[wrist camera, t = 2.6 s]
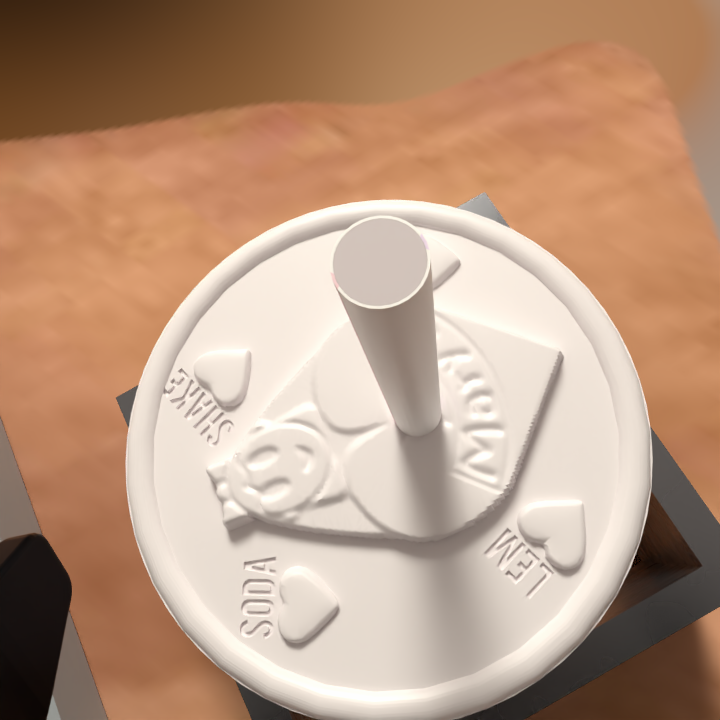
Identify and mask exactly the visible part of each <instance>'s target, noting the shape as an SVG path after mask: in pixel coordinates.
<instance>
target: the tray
mask: <svg viewBox="0 0 720 720" xmlns="http://www.w3.org/2000/svg"><path fill="white" fill-rule="evenodd" d="M29 533H39V534H41V535H42V533H41V530H40V528H39V525H38V522H37V519H36V516H35V513H34V511H33V508H32V505H31V502H30V499H29V497H28V494H27V491H26V488H25V485H24V482H23V480H22V477H21V474H20V471H19V468H18V466H17V463H16V460H15V457H14V454H13V452H12V449H11V446H10V443H9V440H8V437H7V435H6V432H5V429H4V426H3V423H2V421H1V418H0V542H1V541H3V540H4V539H7V538H10V537H14V536H19V535H24V534H29ZM47 720H108V719H107V716H106V713H105V710H104V708H103V705H102V702H101V699H100V696H99V694H98V691H97V688H96V685H95V682H94V679H93V677H92V674H91V671H90V668H89V665H88V663H87V660H86V657H85V654H84V651H83V649H82V646H81V643H80V640H79V637H78V634H77V632H76V629H75V626H74V623H73V620H72V618H71V615H70V612H68V617H67V622H66V628H65V633H64V638H63V643H62V648H61V653H60V659H59V664H58V669H57V674H56V679H55V684H54V690H53V694H52V699H51V703H50V708H49V712H48V716H47Z"/></svg>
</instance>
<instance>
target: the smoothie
mask: <svg viewBox="0 0 720 720" xmlns="http://www.w3.org/2000/svg"><path fill="white" fill-rule="evenodd" d="M652 463H653V456H652V440H651V429H650V423H649V417H648V411H647V405H646V401H645V397H644V394H643V390H642V386H641V383H640V379H639V377H638V374H637V371H636V369H635V366H634V364H633V361H632V358H631V356H630V354H629V352H628V350H627V348H626V346H625V344H624V342H623V340H622V338H621V336H620V334H619V332H618V330H617V329H616V327H615V325H614V324H613V322H612V321H611V319H610V318H609V316H608V314H607V313H606V311H605V310H604V308H603V307H602V306H601V305H600V303H599V302H598V301H597V299H596V298H595V297H594V296H593V294H592V293H591V292H590V290H589V289H588V288H587V287H586V286H585V285H584V284H583V283H582V282H581V281H580V280H579V279H578V278H577V277H576V276H575V275H574V274H573V273H572V272H571V271H570V270H569V269H568V268H567V267H566V266H565V265H563V264H562V263H561V262H560V261H559V260H558V259H556V258H555V257H554V256H553V255H552V254H550V253H549V252H547V251H546V250H545V249H543V248H542V247H540V246H539V245H538V244H536V243H535V242H533V241H532V240H530V239H528V238H527V237H525V236H523V235H521V234H520V233H518V232H516V231H515V230H513V229H511V228H509V227H506V226H504V225H502V224H500V223H498V222H496V221H494V220H491V219H489V218H486V217H483V216H480V215H478V214H475V213H472V212H469V211H465V210H462V209H458V208H454V207H450V206H446V205H440V204H434V203H428V202H421V201H408V200H373V201H364V202H354V203H349V204H343V205H338V206H333V207H329V208H325V209H322V210H318V211H315V212H311V213H308V214H305V215H303V216H300V217H297V218H295V219H292V220H289V221H287V222H285V223H283V224H281V225H279V226H277V227H274V228H272V229H270V230H268V231H266V232H265V233H263V234H261V235H260V236H258V237H256V238H254V239H253V240H251V241H249V242H248V243H246V244H245V245H243V246H242V247H241V248H239V249H238V250H236V251H235V252H234V253H232V254H231V255H229V256H228V257H227V258H226V259H225V260H223V261H222V262H221V263H220V264H219V265H218V266H216V267H215V268H214V269H213V270H212V271H211V272H210V273H209V274H208V275H207V276H206V277H205V278H204V279H203V280H202V281H201V282H200V283H199V284H198V285H197V286H196V287H195V288H194V289H193V290H192V292H191V293H190V294H189V295H188V296H187V298H186V299H185V300H184V301H183V302H182V304H181V305H180V306H179V308H178V309H177V310H176V312H175V313H174V315H173V316H172V318H171V319H170V321H169V322H168V324H167V325H166V327H165V328H164V330H163V332H162V334H161V336H160V337H159V339H158V341H157V343H156V344H155V346H154V349H153V351H152V353H151V355H150V357H149V360H148V362H147V364H146V366H145V369H144V371H143V374H142V377H141V380H140V383H139V386H138V389H137V392H136V396H135V400H134V404H133V408H132V412H131V417H130V424H129V430H128V436H127V450H126V487H127V495H128V503H129V511H130V516H131V521H132V525H133V530H134V534H135V538H136V541H137V544H138V547H139V550H140V553H141V556H142V559H143V562H144V564H145V567H146V569H147V571H148V573H149V576H150V578H151V580H152V582H153V585H154V587H155V588H156V590H157V592H158V594H159V595H160V597H161V599H162V601H163V602H164V604H165V606H166V608H167V609H168V611H169V612H170V613H171V615H172V616H173V618H174V619H175V620H176V622H177V623H178V625H179V626H180V627H181V629H182V630H183V631H184V632H185V634H186V635H187V636H188V637H189V638H190V639H191V640H192V642H193V643H194V644H195V645H196V646H197V647H198V648H199V650H200V651H202V652H203V653H204V654H205V655H206V656H207V657H208V658H209V659H210V660H211V661H212V662H213V663H215V664H216V665H217V666H218V667H219V668H220V669H221V670H223V671H224V672H225V673H227V674H228V675H229V676H231V677H232V678H233V679H235V680H236V681H237V682H239V683H240V684H241V685H243V686H245V687H246V688H248V689H250V690H251V691H253V692H255V693H256V694H258V695H260V696H261V697H263V698H265V699H267V700H269V701H271V702H273V703H276V704H278V705H280V706H282V707H284V708H287V709H289V710H291V711H294V712H297V713H300V714H303V715H306V716H309V717H312V718H315V719H318V720H454V719H459V718H462V717H465V716H468V715H471V714H473V713H476V712H479V711H482V710H485V709H488V708H490V707H492V706H494V705H496V704H498V703H500V702H502V701H504V700H506V699H509V698H511V697H513V696H515V695H516V694H518V693H519V692H521V691H523V690H524V689H526V688H527V687H529V686H531V685H532V684H534V683H535V682H537V681H539V680H540V679H541V678H543V677H544V676H545V675H546V674H548V673H549V672H550V671H551V670H553V669H554V668H555V667H556V666H558V665H559V664H560V663H562V662H563V661H564V660H565V659H566V658H567V657H568V656H569V655H570V654H571V653H572V652H573V651H574V650H575V649H576V648H577V647H578V646H579V645H580V644H581V643H582V642H583V641H584V640H585V638H586V637H587V636H588V635H589V634H590V632H591V631H592V630H593V629H594V627H595V626H596V625H597V624H598V622H599V621H600V620H601V619H602V617H603V616H604V614H605V613H606V611H607V609H608V608H609V606H610V605H611V603H612V602H613V600H614V599H615V597H616V596H617V594H618V592H619V590H620V588H621V586H622V584H623V582H624V580H625V578H626V576H627V574H628V572H629V570H630V568H631V565H632V563H633V560H634V557H635V555H636V552H637V549H638V547H639V544H640V541H641V537H642V533H643V530H644V526H645V522H646V518H647V514H648V507H649V500H650V493H651V487H652Z"/></svg>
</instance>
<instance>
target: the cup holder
mask: <svg viewBox="0 0 720 720" xmlns="http://www.w3.org/2000/svg"><path fill="white" fill-rule="evenodd" d="M457 208H458V209H462V210H465V211H469V212H472V213H475V214H478V215H480V216H483V217H486V218H489V219H491V220H494V221H496V222H498V223H500V224H502V225H504V226H506V227H509V226H508V224H507V223H506V222H505V220H504V219H503V217H502V216H501V214H500V213H499V212H498V210H497V209H496V207H495V206H494V205H493V203H492V202H491V200H490V199H489V197H488V196H487V195H486V193H485V192H484V193H482V194H480V195H478V196H477V197H475V198H473V199H471V200H469V201H468V202H466V203H464V204H462V205H460V206H459V207H457ZM509 228H510V227H509ZM138 386H139V385H138ZM138 386H136V387H134V388H132V389H131V390H129V391H127V392H125V393H123V394H122V395H120V396H118V397H116V399H117V402H118V404H119V406H120V409H121V411H122V413H123V416H124V418H125V421H126V423H127V425H128V428H129V424H130V417H131V412H132V408H133V404H134V400H135V396H136V392H137V389H138ZM650 429H651V440H652V456H653V463H652V487H651V493H650V500H649V507H648V514H647V518H646V522H645V526H644V530H643V533H642V537H641V541H640V544H639V547H638V549H637V552H636V554H637V555H638V557H639V558H640V560H641V561H642V562H640V563H638V564H637V565H635V566H633V567H631V568H630V570H629V572H628V574H627V576H626V578H625V580H624V582H623V584H622V586H621V588H620V590H619V592H618V594H617V596H616V597H615V599H614V600H613V602H612V603H611V605H610V606H609V608H608V609H607V611H606V613H605V614H604V616H603V617H602V619H601V620H600V621H599V622H598V624H597V625H596V626H595V627H594V629H593V630H592V631H591V632H590V634H589V635H588V636H587V637H586V638H585V640H584V641H583V642H582V643H581V644H580V645H579V646H578V647H577V648H576V649H575V650H574V651H573V652H572V653H571V654H570V655H569V656H568V657H567V658H566V659H565V660H564V661H563V662H562V663H560V664H559V665H558V666H556V667H555V668H554V669H553V670H551V671H550V672H549V673H548V674H546V675H545V676H544V677H543V678H541V679H540V680H539V681H537V682H535V683H534V684H532V685H531V686H529V687H527V688H526V689H524V690H523V691H521V692H519V693H518V694H516V695H515V696H513V697H511V698H509V699H506V700H504V701H502V702H500V703H498V704H496V705H494V706H492V707H490V708H488V709H485V710H482V711H479V712H476V713H473V714H471V715H468V716H465V717H462V718H459V719H454V720H524V719H526V718H528V717H529V716H531V715H533V714H535V713H536V712H538V711H540V710H542V709H543V708H545V707H547V706H548V705H550V704H552V703H554V702H555V701H557V700H559V699H561V698H562V697H564V696H566V695H568V694H569V693H571V692H573V691H574V690H576V689H578V688H580V687H581V686H583V685H585V684H587V683H588V682H590V681H592V680H594V679H595V678H597V677H599V676H600V675H602V674H604V673H606V672H607V671H609V670H611V669H613V668H614V667H616V666H618V665H620V664H621V663H623V662H625V661H626V660H628V659H630V658H632V657H633V656H635V655H637V654H639V653H640V652H642V651H644V650H646V649H647V648H649V647H651V646H652V645H654V644H656V643H658V642H659V641H661V640H663V639H665V638H666V637H668V636H670V635H672V634H673V633H675V632H677V631H678V630H680V629H682V628H684V627H685V626H687V625H689V624H691V623H692V622H694V621H696V620H697V619H699V618H701V617H703V616H704V615H706V614H708V613H710V612H711V611H713V610H715V609H717V608H718V607H720V524H719V523H718V521H717V520H716V519H715V517H714V516H713V514H712V513H711V512H710V510H709V509H708V507H707V506H706V505H705V503H704V502H703V500H702V499H701V497H700V496H699V495H698V493H697V492H696V490H695V489H694V488H693V486H692V485H691V483H690V482H689V480H688V479H687V478H686V476H685V475H684V473H683V472H682V471H681V469H680V468H679V466H678V465H677V463H676V462H675V461H674V459H673V458H672V456H671V455H670V454H669V452H668V451H667V449H666V448H665V447H664V445H663V444H662V442H661V441H660V439H659V438H658V437H657V435H656V434H655V432H654V431H653V430H652V428H651V427H650ZM235 681H236V680H235ZM236 683H237V685H238V688H239V690H240V692H241V695H242V697H243V700H244V702H245V704H246V707H247V709H248V711H249V714H250V716H251V718H252V720H318V719H315V718H312V717H309V716H306V715H303V714H300V713H297V712H294V711H291V710H289V709H287V708H284V707H282V706H280V705H278V704H276V703H273V702H271V701H269V700H267V699H265V698H263V697H261V696H260V695H258V694H256V693H255V692H253V691H251V690H250V689H248V688H246V687H245V686H243V685H241V684H240V683H239V682H237V681H236Z"/></svg>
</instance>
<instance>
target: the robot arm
mask: <svg viewBox="0 0 720 720" xmlns="http://www.w3.org/2000/svg"><path fill="white" fill-rule="evenodd" d="M71 596H72V585H71V581H70V577H69V575H68V573H67V572H66V570H65V568H64V567H63V565H62V563H61V562H60V560H59V559H58V557H57V555H56V554H55V552H54V550H53V549H52V547H51V546H50V544H49V542H48V541H47V539H46V538H45V537H44V536H42V535H41V534H39V533H29V534H24V535H19V536H14V537H10V538H7V539H4V540H3V541H1V542H0V720H47V716H48V712H49V708H50V703H51V699H52V694H53V690H54V684H55V679H56V674H57V669H58V664H59V659H60V653H61V648H62V643H63V638H64V633H65V628H66V622H67V617H68V612H69V607H70V602H71Z"/></svg>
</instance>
